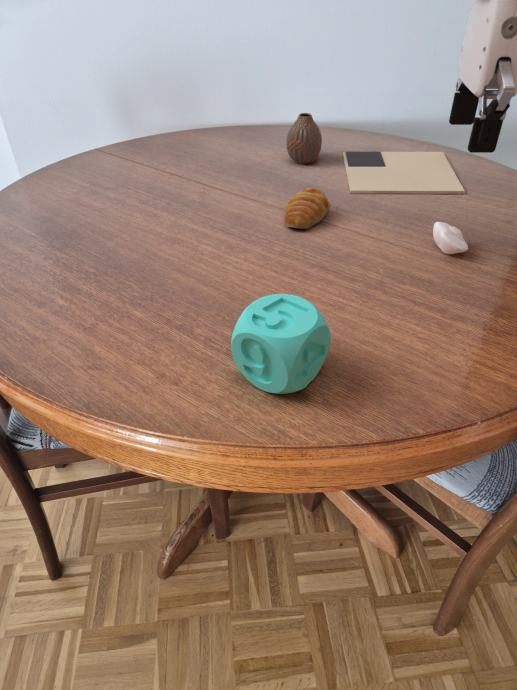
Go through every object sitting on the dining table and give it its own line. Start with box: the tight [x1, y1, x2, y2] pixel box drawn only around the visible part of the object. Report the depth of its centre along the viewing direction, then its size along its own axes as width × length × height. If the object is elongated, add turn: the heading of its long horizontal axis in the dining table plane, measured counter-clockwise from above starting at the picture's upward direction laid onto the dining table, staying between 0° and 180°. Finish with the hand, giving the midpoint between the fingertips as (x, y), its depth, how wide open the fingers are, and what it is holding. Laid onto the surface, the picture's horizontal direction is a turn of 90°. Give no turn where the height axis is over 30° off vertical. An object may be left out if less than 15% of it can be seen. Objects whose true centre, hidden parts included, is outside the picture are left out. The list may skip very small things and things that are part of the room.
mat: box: [342, 151, 466, 195], centre depth 103 cm, size 20×18×1 cm
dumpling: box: [432, 221, 469, 255], centre depth 81 cm, size 7×5×4 cm
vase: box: [285, 112, 323, 165], centre depth 105 cm, size 7×7×9 cm
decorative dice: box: [230, 293, 332, 395], centre depth 60 cm, size 8×8×8 cm
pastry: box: [284, 187, 332, 230], centre depth 88 cm, size 9×7×4 cm
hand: (470, 137), depth 70 cm, fingers open, 9 cm apart
